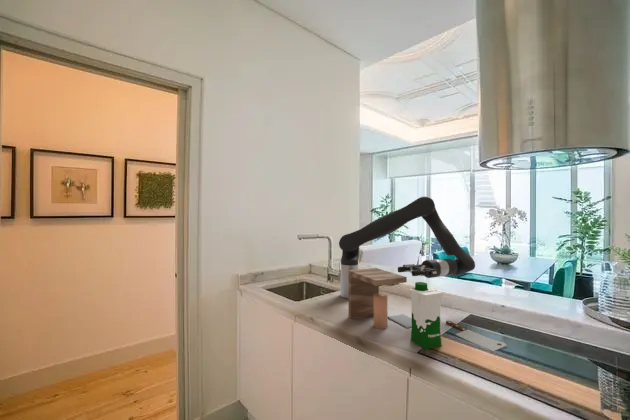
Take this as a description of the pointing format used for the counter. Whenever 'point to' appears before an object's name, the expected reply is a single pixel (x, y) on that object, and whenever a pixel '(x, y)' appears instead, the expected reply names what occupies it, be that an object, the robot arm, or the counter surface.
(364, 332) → the counter surface
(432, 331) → the milk carton
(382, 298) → the peach cylinder
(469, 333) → the kitchen cleaver
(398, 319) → the slate mat
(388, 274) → the walnut shelf
